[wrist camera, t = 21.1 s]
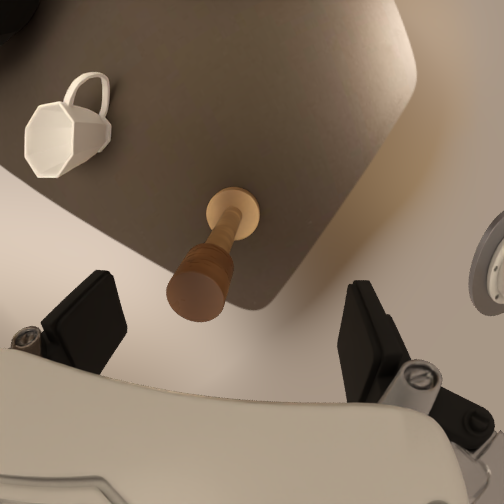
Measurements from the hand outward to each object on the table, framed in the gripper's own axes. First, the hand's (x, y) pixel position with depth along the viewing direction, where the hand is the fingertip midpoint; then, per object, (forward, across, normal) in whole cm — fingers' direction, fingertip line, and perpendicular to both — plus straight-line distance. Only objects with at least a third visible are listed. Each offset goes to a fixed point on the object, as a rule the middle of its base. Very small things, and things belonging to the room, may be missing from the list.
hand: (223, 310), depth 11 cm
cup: (+18, +16, -9) cm, 26 cm away
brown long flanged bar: (+18, +2, +1) cm, 18 cm away
